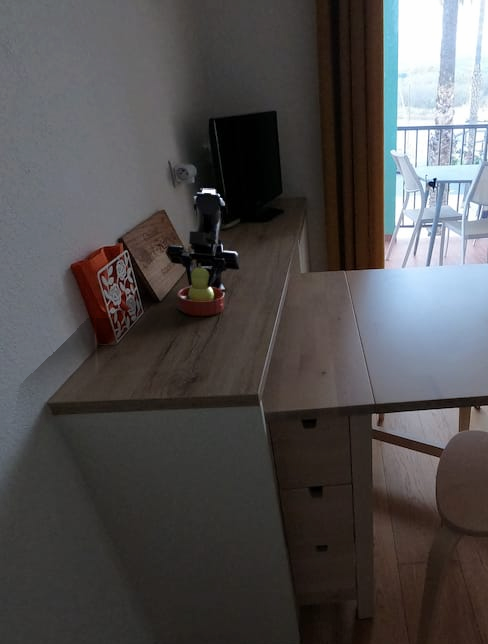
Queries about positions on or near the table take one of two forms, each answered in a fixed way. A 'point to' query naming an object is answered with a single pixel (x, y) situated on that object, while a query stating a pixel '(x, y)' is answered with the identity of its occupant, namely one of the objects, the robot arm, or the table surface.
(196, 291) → the pear
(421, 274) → the table surface
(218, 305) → the bowl
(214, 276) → the robot arm
